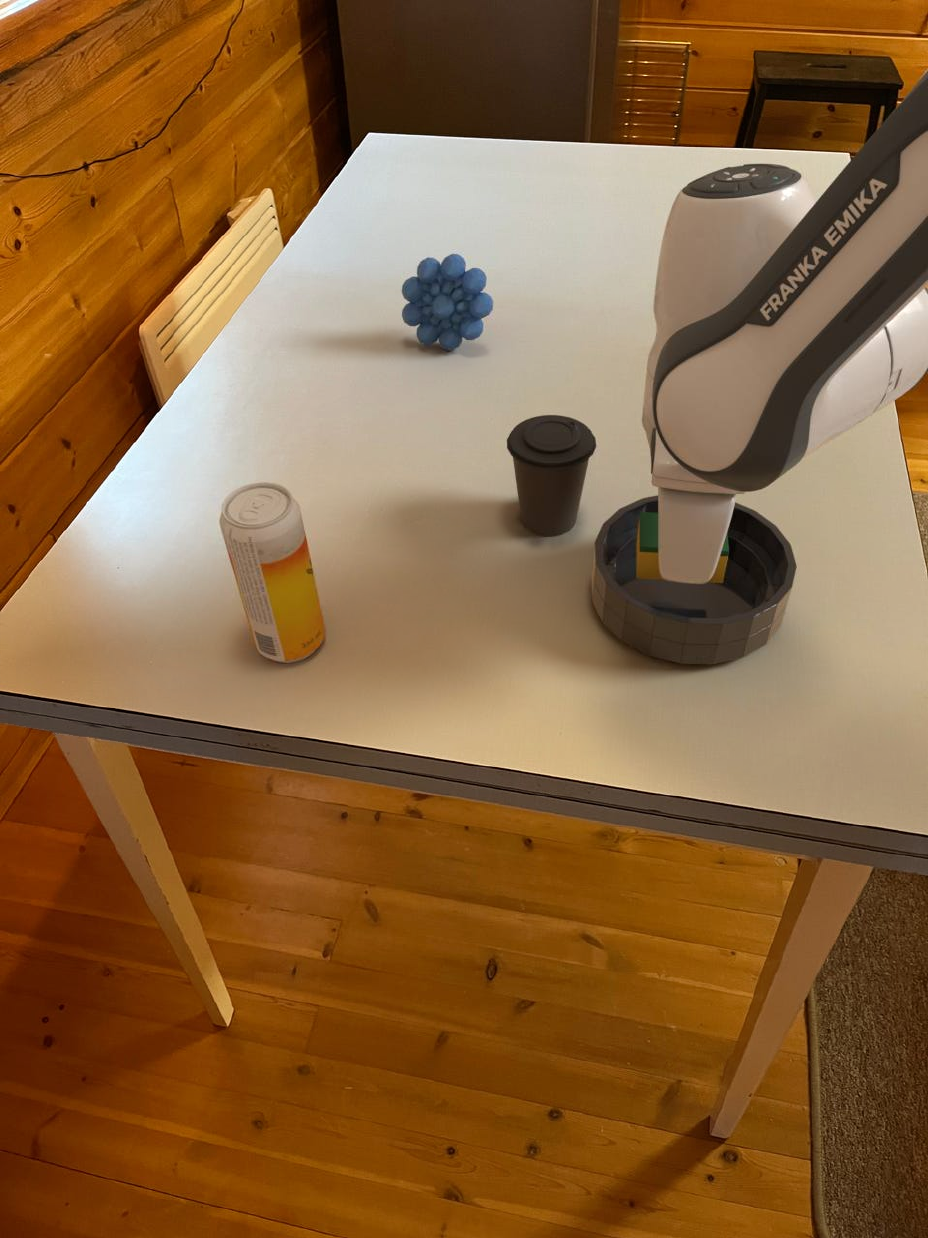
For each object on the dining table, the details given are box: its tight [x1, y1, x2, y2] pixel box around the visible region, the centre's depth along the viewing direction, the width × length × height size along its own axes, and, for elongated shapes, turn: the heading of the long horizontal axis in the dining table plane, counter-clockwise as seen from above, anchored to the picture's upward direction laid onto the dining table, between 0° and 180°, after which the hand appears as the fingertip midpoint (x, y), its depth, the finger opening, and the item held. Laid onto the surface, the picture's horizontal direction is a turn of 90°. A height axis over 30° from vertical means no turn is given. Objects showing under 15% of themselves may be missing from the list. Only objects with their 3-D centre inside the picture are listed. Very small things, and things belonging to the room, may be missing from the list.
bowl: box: [591, 494, 798, 665], centre depth 79 cm, size 16×16×6 cm
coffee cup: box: [506, 414, 597, 537], centre depth 86 cm, size 8×8×10 cm
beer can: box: [218, 481, 326, 664], centre depth 74 cm, size 6×6×15 cm
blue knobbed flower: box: [401, 253, 494, 351], centre depth 110 cm, size 12×7×12 cm, turn 70°
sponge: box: [636, 512, 729, 583], centre depth 77 cm, size 7×4×4 cm, turn 82°
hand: (682, 548), depth 77 cm, fingers closed on sponge, 4 cm apart
